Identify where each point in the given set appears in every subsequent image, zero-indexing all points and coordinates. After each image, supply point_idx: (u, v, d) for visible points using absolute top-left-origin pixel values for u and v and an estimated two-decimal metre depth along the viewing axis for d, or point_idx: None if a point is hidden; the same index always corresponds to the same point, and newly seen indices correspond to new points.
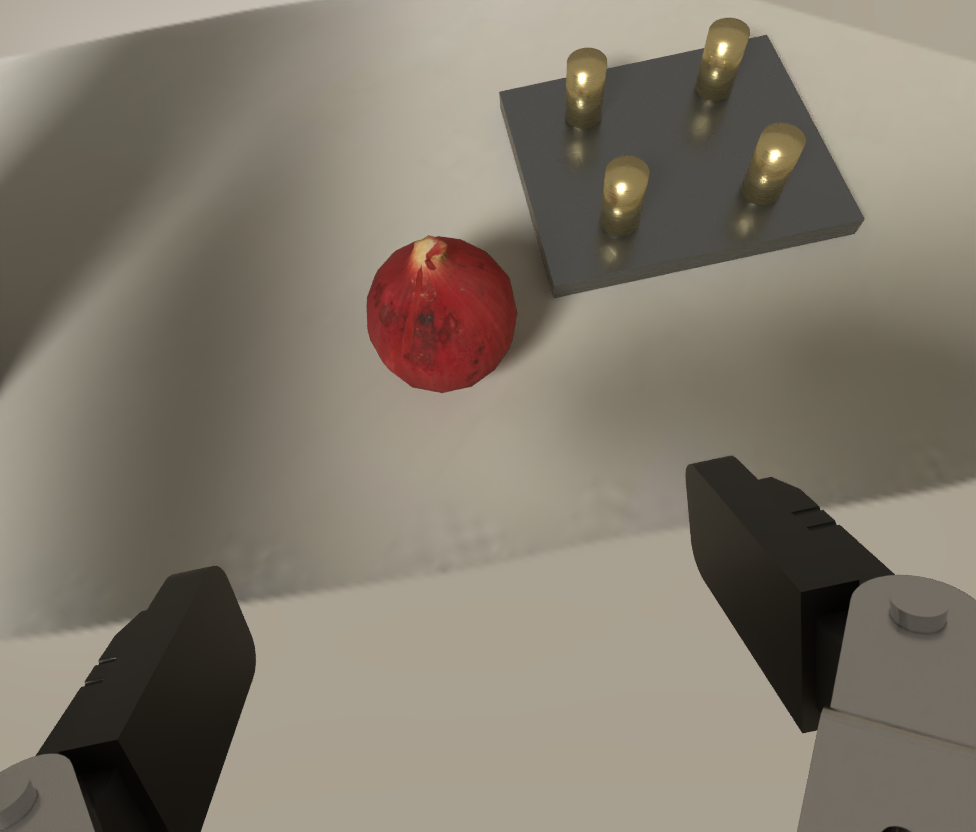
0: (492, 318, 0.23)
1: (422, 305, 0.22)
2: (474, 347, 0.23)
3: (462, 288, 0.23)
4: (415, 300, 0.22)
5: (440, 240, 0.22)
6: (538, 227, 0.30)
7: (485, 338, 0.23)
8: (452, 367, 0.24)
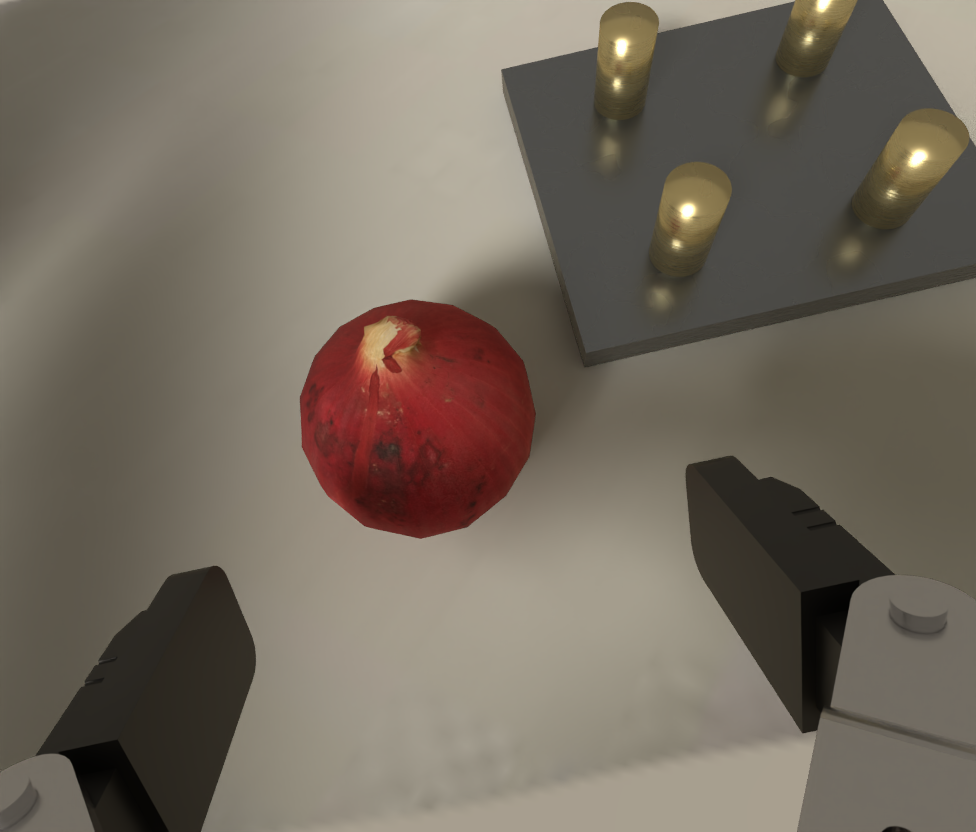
0: (498, 439, 0.14)
1: (382, 429, 0.13)
2: (469, 486, 0.14)
3: (447, 398, 0.13)
4: (370, 420, 0.13)
5: (408, 323, 0.13)
6: (560, 264, 0.21)
7: (487, 470, 0.15)
8: (435, 515, 0.15)
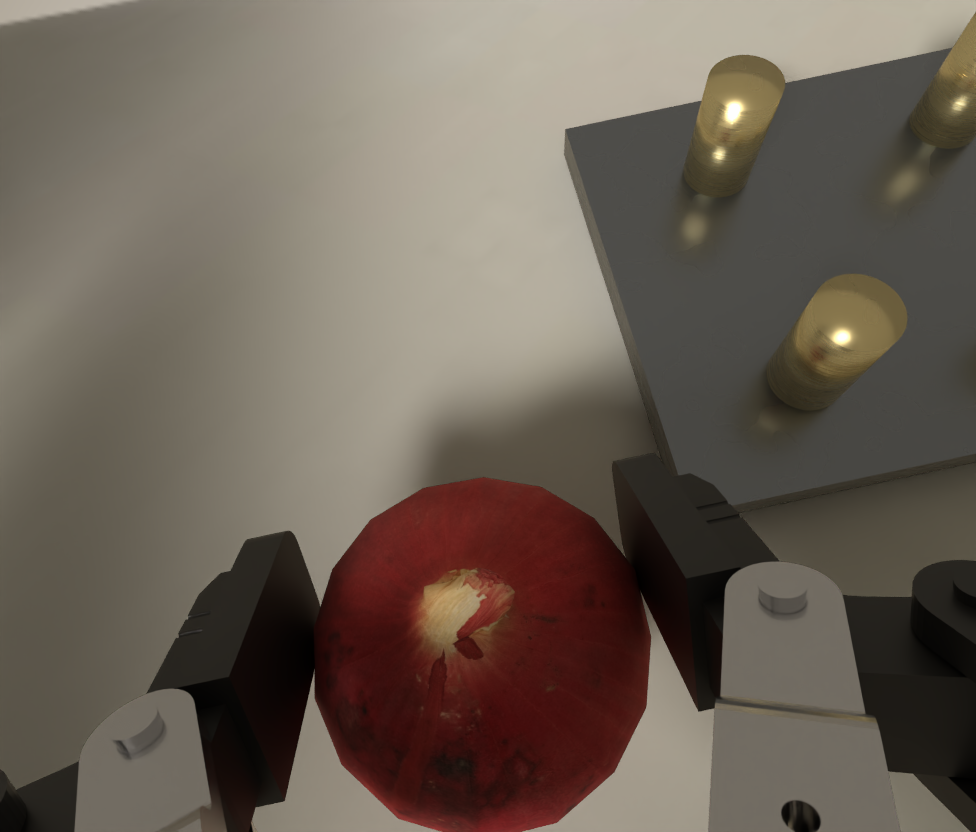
0: (616, 723, 0.09)
1: (446, 738, 0.08)
2: (570, 793, 0.09)
3: (549, 684, 0.09)
4: (427, 725, 0.08)
5: (496, 582, 0.08)
6: (651, 388, 0.16)
7: (597, 769, 0.10)
8: (515, 829, 0.10)
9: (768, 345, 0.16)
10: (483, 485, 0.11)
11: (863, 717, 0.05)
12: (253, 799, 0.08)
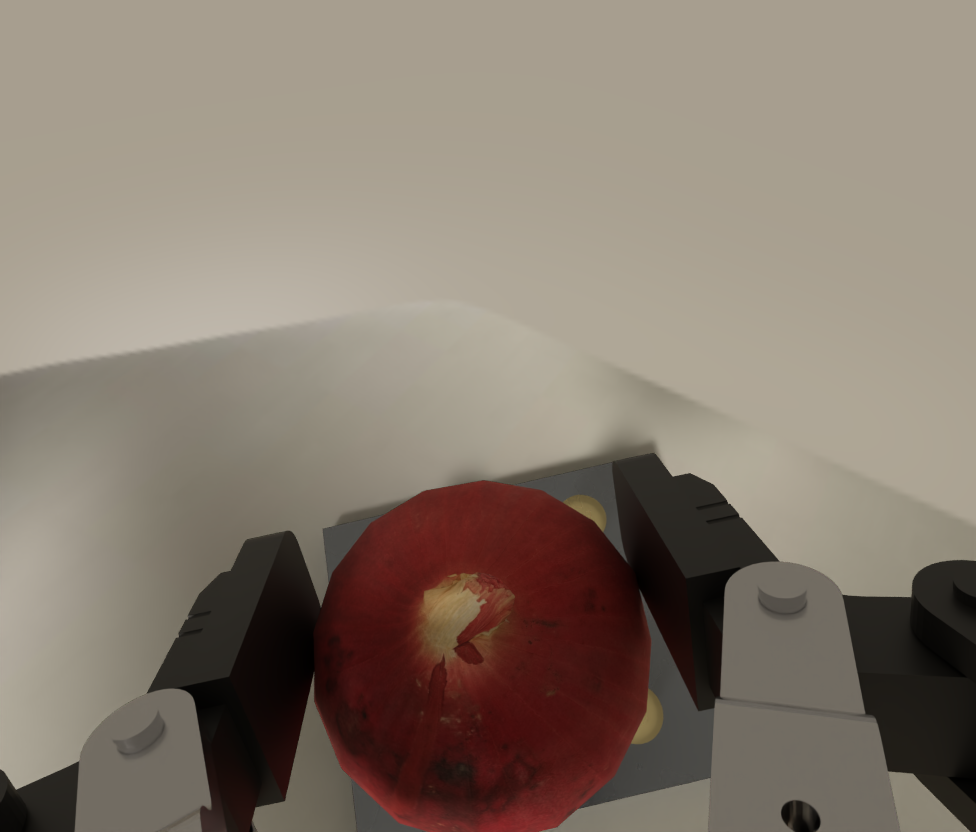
0: (616, 728, 0.09)
1: (446, 742, 0.08)
2: (571, 798, 0.09)
3: (550, 688, 0.09)
4: (427, 730, 0.08)
5: (496, 587, 0.08)
6: None
7: (598, 773, 0.10)
8: None
9: None
10: (483, 488, 0.11)
11: (863, 717, 0.05)
12: (253, 799, 0.08)
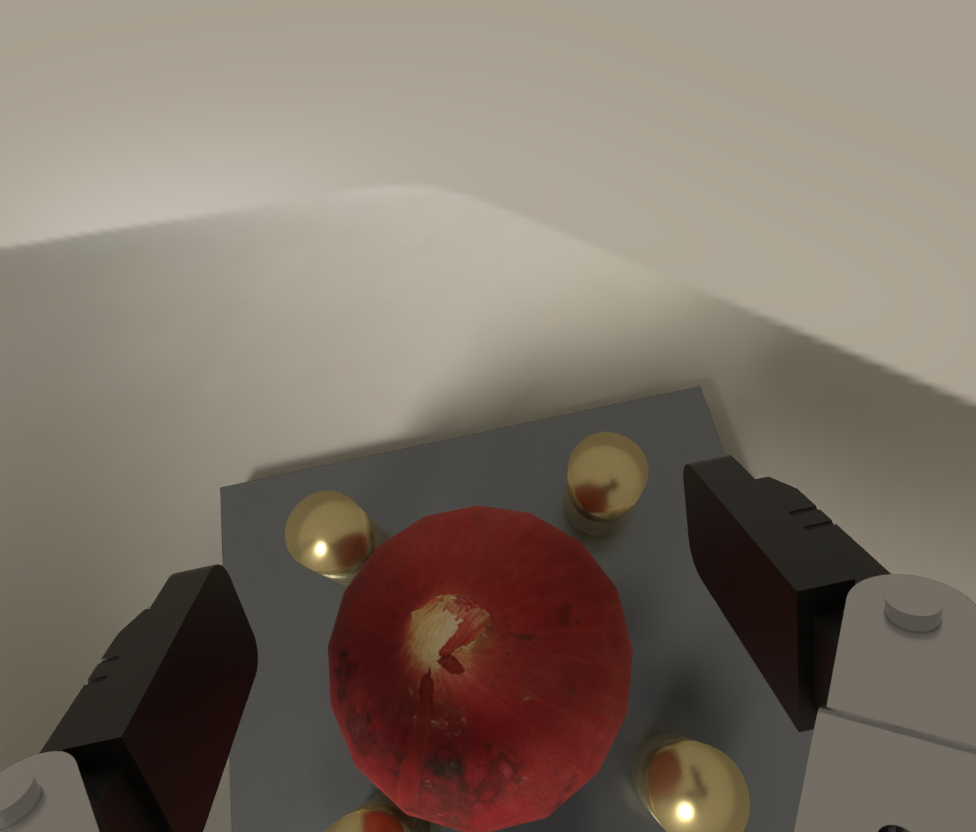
0: (593, 728, 0.11)
1: (437, 742, 0.10)
2: (555, 792, 0.11)
3: (526, 694, 0.10)
4: (420, 731, 0.10)
5: (472, 607, 0.09)
6: None
7: (579, 769, 0.11)
8: (508, 824, 0.11)
9: (363, 791, 0.15)
10: (474, 514, 0.12)
11: None
12: None
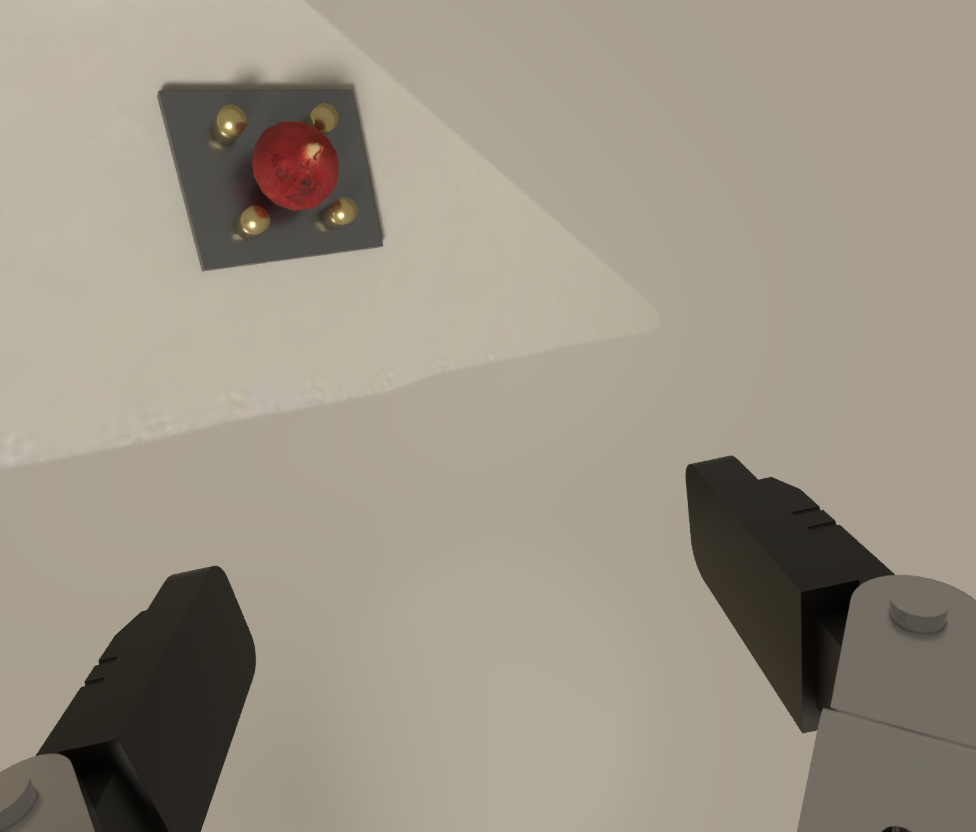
0: (333, 182, 0.46)
1: (306, 176, 0.43)
2: (323, 196, 0.46)
3: (325, 169, 0.44)
4: (303, 173, 0.43)
5: (321, 145, 0.43)
6: (193, 223, 0.46)
7: (328, 192, 0.46)
8: (309, 204, 0.46)
9: (236, 212, 0.48)
10: (304, 124, 0.44)
11: None
12: None
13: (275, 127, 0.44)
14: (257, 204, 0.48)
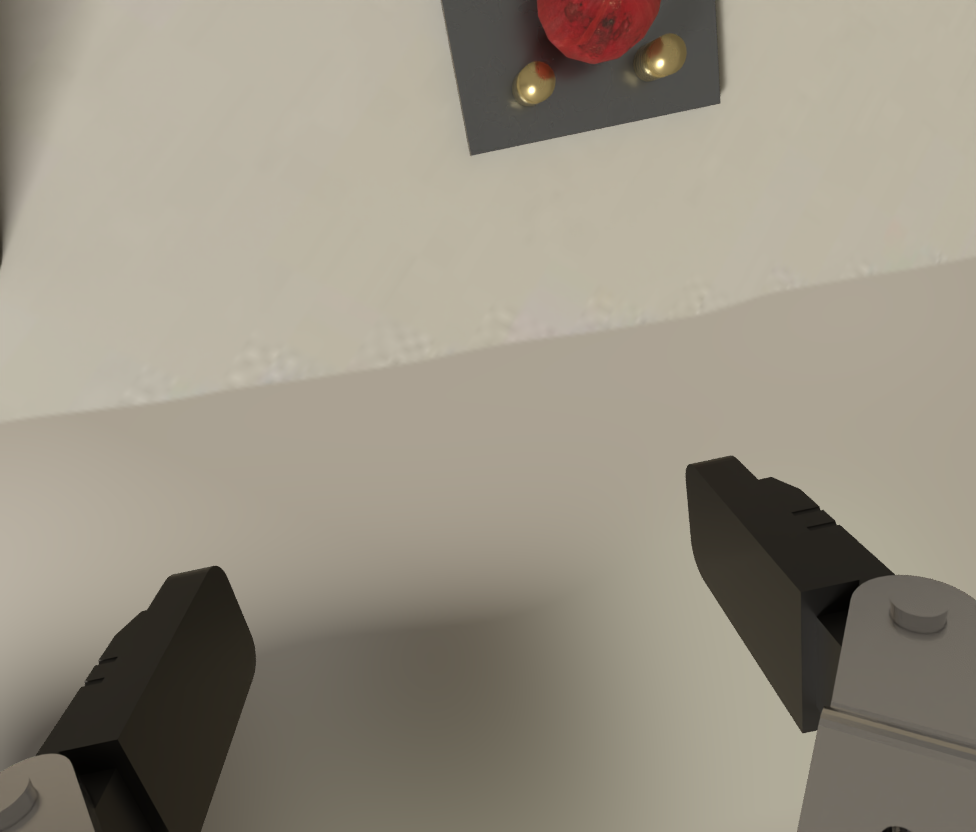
0: (652, 14, 0.29)
1: (608, 11, 0.28)
2: (633, 39, 0.30)
3: None
4: (604, 7, 0.28)
5: None
6: (459, 90, 0.35)
7: (642, 31, 0.30)
8: (612, 54, 0.31)
9: (515, 68, 0.35)
10: None
11: None
12: None
13: None
14: (544, 54, 0.34)
